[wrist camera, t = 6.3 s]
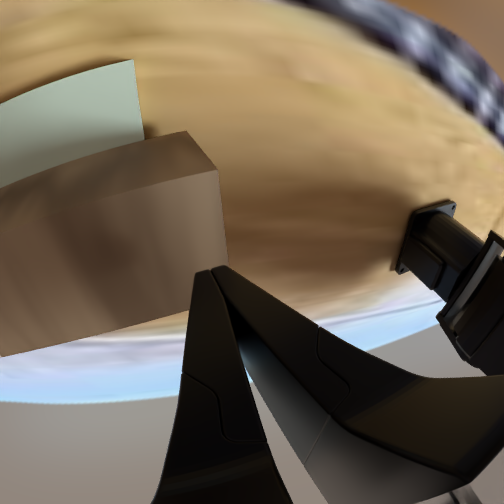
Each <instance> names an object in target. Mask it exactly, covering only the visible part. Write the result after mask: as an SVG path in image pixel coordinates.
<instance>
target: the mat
mask: <svg viewBox="0 0 504 504" xmlns="http://www.w3.org/2000/svg"><path fill="white" fill-rule="evenodd" d="M142 140H145V137H144V131H143V125H142V119H141V113H140V106H139V99H138V92H137V85H136V77H135V69H134V61H133V59H132V60H128V61H123V62H119V63H115V64H111V65H107V66H103V67H99V68H96V69H92V70H89V71H85V72H82V73H79V74H76V75H72V76H69V77H66V78H63V79H60V80H58V81H55V82H52V83H49V84H47V85H44V86H41V87H39V88H36V89H34V90H31V91H29V92H26V93H24V94H22V95H19V96H17V97H15V98H12V99H10V100H8V101H6V102H4V103H2V104H0V188H2V187H4V186H6V185H9V184H11V183H14V182H16V181H18V180H21V179H23V178H26V177H28V176H31V175H33V174H36V173H39V172H41V171H44V170H47V169H50V168H52V167H55V166H58V165H61V164H64V163H67V162H70V161H73V160H76V159H79V158H82V157H85V156H88V155H91V154H95V153H98V152H101V151H105V150H108V149H112V148H115V147H119V146H123V145H127V144H130V143H134V142H138V141H142Z"/></svg>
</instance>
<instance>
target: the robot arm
mask: <svg viewBox="0 0 504 504" xmlns="http://www.w3.org/2000/svg"><path fill="white" fill-rule="evenodd" d="M455 209H456V203H455V202H454V201H449V202H445V203H441V204H438V205H434V206H431V207H427V208H424V209H420V210H417V211H414V212H413V213H412V215H411V217H410V221H409V225H408V229H407V232H406V236H405V240H404V243H403V247H402V250H401V254H400V257H399V260H398V263H397V267H396V270H395V271H396V272H397V273H398V274H399V275H401V274H403V273H405V272H408V271H411V272H412V273H413V274H414V275H415V276H416V277H417V278H418V279H420V280H421V281H422V282H423V283H424V284H425V285H426V286H427V287H428V288H429V289H430V290H434V291H435V292H436V293H437V294H438V295H439V296H440V297H441V298H442V299H443V300H444V301H445V302H447V303H446V305H445V306H444V307H443V309H442V310H441V311H440V312H439V313H438V314H437V315H436V319H437V320H438V322H439V323H440V326H441V327H442V329H443V331H444V332H445V334H446V335H447V337H448V338H449V340H450V341H451V343H452V345H453V346H454V348H455V349H456V351H457V353H458V354H459V356H460V357H461V359H462V360H463V361H466V362H467V363H469V364H470V365H471V366H473V367H475V368H479V369H480V370H482V371H483V372H484V373H485V374H486V375H487V376H482V377H462V378H429V377H424V376H420V375H416V374H413V373H411V372H408V371H406V370H404V369H401V368H399V367H397V366H395V365H393V364H390V363H388V362H386V361H383V360H382V359H380V358H377V357H375V356H373V355H371V354H369V353H367V352H365V351H363V350H361V349H359V348H357V347H355V346H353V345H351V344H349V343H347V342H346V341H344V340H342V339H340V338H339V337H337V336H335V335H334V334H332V333H330V332H329V331H327V330H325V329H324V328H322V327H319V326H318V325H317V324H316V323H314V322H313V321H311V320H309V319H308V318H306V317H305V316H303V315H302V314H300V313H298V312H297V311H295V310H294V309H292V308H291V307H289V306H287V305H286V304H284V303H283V302H281V301H280V300H278V299H277V298H275V297H274V296H272V295H270V294H269V293H267V292H266V291H264V290H263V289H261V288H260V287H258V286H257V285H255V284H254V283H252V282H250V281H249V280H247V279H246V278H244V277H243V276H241V275H240V274H238V273H237V272H235V271H234V270H232V269H231V268H229V267H228V266H226V265H221V266H217V267H213V268H211V270H209V269H206V270H202V271H199V272H196V273H195V275H194V282H193V289H192V295H191V302H190V310H189V317H188V324H187V332H186V340H185V348H184V356H183V365H182V374H181V382H180V390H179V397H178V404H177V410H176V415H175V419H174V424H173V429H172V433H171V437H170V441H169V445H168V450H167V454H166V458H165V462H164V466H163V471H162V475H161V479H160V482H159V485H158V488H157V491H156V493H155V496H154V498H153V500H152V502H151V504H293V502H292V500H291V497H290V495H289V493H288V491H287V489H286V487H285V485H284V483H283V480H282V478H281V476H280V474H279V472H278V469H277V467H276V464H275V462H274V459H273V456H272V453H271V451H270V448H269V445H268V443H267V438H266V435H265V432H264V429H263V426H262V423H261V420H260V416H259V414H258V410H257V407H256V404H255V400H254V397H253V394H252V391H251V387H250V384H249V381H248V377H247V374H246V370H247V371H248V373H249V375H250V377H251V379H252V380H253V382H254V384H255V386H256V387H257V389H258V391H259V393H260V394H261V396H262V398H263V400H264V401H265V403H266V405H267V407H268V408H269V410H270V411H271V413H272V415H273V417H274V418H275V420H276V422H277V423H278V425H279V427H280V428H281V430H282V432H283V433H284V435H285V436H286V438H287V440H288V441H289V443H290V445H291V446H292V448H293V450H294V451H295V453H296V454H297V456H298V458H299V459H300V461H301V462H302V464H303V465H304V467H305V469H306V470H307V472H308V474H309V475H310V477H311V478H312V480H313V481H314V483H315V484H316V486H317V487H318V489H319V490H320V492H321V493H322V495H323V496H324V498H325V499H326V501H327V502H328V504H504V256H503V257H501V256H500V255H501V253H502V252H503V250H504V238H503V237H502V236H500V235H499V234H497V233H496V232H494V231H492V230H490V232H489V234H488V238H487V240H486V242H484V241H482V240H481V239H480V238H479V237H477V236H476V235H475V234H473V233H472V232H471V231H470V230H468V229H467V228H466V227H464V226H463V225H462V224H460V223H459V222H458V221H456V220H455V219H454V218H453V215H454V212H455ZM244 366H245V367H244ZM245 368H246V370H245Z"/></svg>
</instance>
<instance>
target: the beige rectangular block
mask: <svg viewBox="0 0 504 504" xmlns="http://www.w3.org/2000/svg"><path fill="white" fill-rule="evenodd" d="M221 265H226V266H228V267H229V261H228V253H227V245H226V237H225V229H224V220H223V211H222V203H221V194H220V185H219V175H218V169H217V168H216V167H215V165H214V164H213V163H212V162H211V160H210V159H209V158H208V157H207V155H206V154H205V153H204V152H203V151H202V149H201V148H200V147H199V146H198V144H197V143H196V142H195V141H194V139H193V138H192V137H191V136H190V135H189V133H188V132H187V131H182V132H177V133H173V134H168V135H164V136H159V137H155V138H150V139H146V140H142V141H138V142H134V143H130V144H127V145H123V146H119V147H115V148H112V149H108V150H105V151H101V152H98V153H95V154H91V155H88V156H85V157H82V158H79V159H76V160H73V161H70V162H67V163H64V164H61V165H58V166H55V167H52V168H50V169H47V170H44V171H41V172H39V173H36V174H33V175H31V176H28V177H26V178H23V179H21V180H18V181H16V182H14V183H11V184H9V185H6V186H4V187H2V188H0V357H5V356H10V355H14V354H19V353H23V352H28V351H32V350H36V349H41V348H45V347H49V346H54V345H58V344H62V343H66V342H70V341H74V340H78V339H82V338H86V337H90V336H94V335H98V334H102V333H106V332H110V331H114V330H118V329H121V328H125V327H129V326H133V325H137V324H140V323H144V322H148V321H151V320H155V319H158V318H162V317H166V316H169V315H173V314H176V313H180V312H183V311H187V310H190V302H191V295H192V289H193V282H194V275H195V273H196V272H199V271H202V270H206V269H209V270H211V268H213V267H217V266H221Z"/></svg>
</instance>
